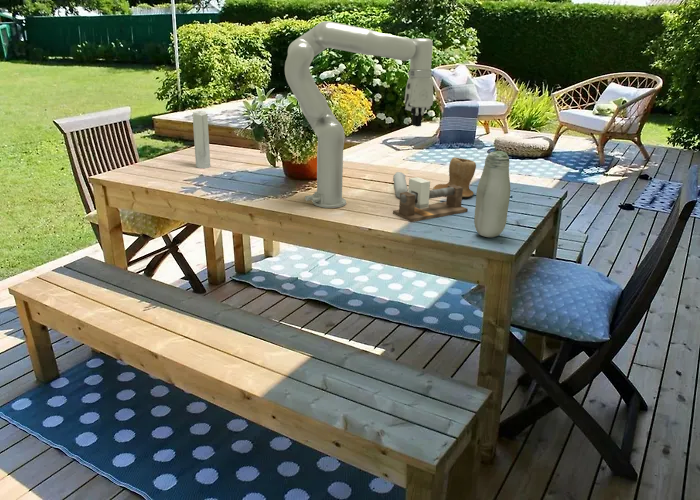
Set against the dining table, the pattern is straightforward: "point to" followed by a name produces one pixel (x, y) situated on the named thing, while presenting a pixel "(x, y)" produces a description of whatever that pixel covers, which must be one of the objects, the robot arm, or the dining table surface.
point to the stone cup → (460, 175)
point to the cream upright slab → (420, 191)
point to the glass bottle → (493, 195)
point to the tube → (399, 183)
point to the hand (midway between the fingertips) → (416, 125)
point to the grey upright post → (201, 139)
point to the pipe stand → (433, 210)
